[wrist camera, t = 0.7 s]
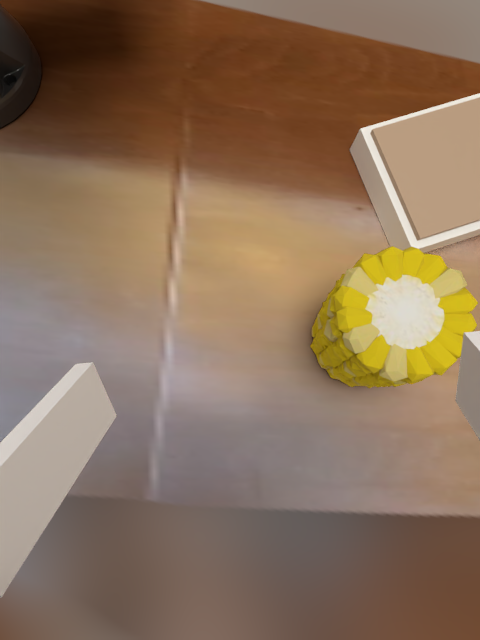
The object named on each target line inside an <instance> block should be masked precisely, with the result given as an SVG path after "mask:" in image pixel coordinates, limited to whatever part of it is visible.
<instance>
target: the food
mask: <svg viewBox="0 0 480 640" xmlns="http://www.w3.org/2000/svg"><path fill="white" fill-rule="evenodd" d="M466 286H467V283H466V281H465V279H464V277H463V275H462V273H461V271H458V270H454V269H450V268H447V266H446V264H445V263H444V261H443V259H442V258H441V256H438V255H431V254H424V253H423V252H422V251H421V250H419V249H418V248H414V247H409V248H407V249H405V250H400V249H398V248H396V247H393V246H391V247H389V248H387V249H385V250H382V251H381V252H379V253H377V254H375V255H371V254H365V253H364V254H363V256H362V257H361V259H360V260H358V262H357V263H356V264H355V266H354V267H353V268H352V269H348V270H347V271H346V274H342V276H341V278H340V280H337V281H336V285H335V287H334V288H333V290H332V291H331V292H330V293H329V294H328V297H327V299H326V301H325V302H323V306H322V308H321V310H320V311H319V313H318V315H317V318H316V320H315V323H314V325H313V327H312V337H314V339H313V342H312V344H311V346H310V347H311V348H312V350H313V351H314V353H315V354H316V356H317V359H318V360H317V361H318V363H319V365H320V366H321V368H324V369H326V370H327V372H328V374H329V376H330V377H331V378H333V379H338V380H341V382H343V383H345V384H347V385H348V386H351V387H354V386H367V387H368V388H371V387H374V386H376V387H381V386H382V387H386V386H388V387H389V386H391V385H392V386H394V387H396V386H400V385H403V384H406V383H409V384H414V383H416V382H419V381H422V380H423V379H425V378H427V377H429V376H431V375H442V374H443V373H444V372H445V371H446V370H447V369H448V368H449V367H450V366H452V365H453V364H454V363H455V362H456V361H457V358H459V357H461V351H462V343H463V335H464V332H474V330H475V328H476V326H477V324H476V322H475V320H474V318H473V316H472V314H471V313H469V312H471V311H472V310H473V309H474V308H475V306H476V305H477V304H478V302H477V301H476V300H475V298H474V297H473V296H472V295H471V293H470V292H469V291H468V290H467V289H466V288H465V287H466Z"/></svg>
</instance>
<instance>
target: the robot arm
mask: <svg viewBox="0 0 480 640" xmlns="http://www.w3.org/2000/svg"><path fill="white" fill-rule="evenodd" d="M40 81H41V62H40V58H39V55H38V52H37V50H36V48H35V47H34V45H33V43H32V42H31V40H30V38H29V37H28V35H27V33H26V32H25V30H24V29H23V27H22V26H21V25H20V24H19V23H18V21H17V20H16V19H15V18H14V17H13V16H12V15H11V14H10V13H9V12H8V11H6V10H5V9H4V8H3V7H2V6H1V5H0V127H3V126H5V125H6V124H8V123H10V122H12V121H13V120H14V119H16V118H17V117H18V116H20V115H21V114H22V113H23V112H24V111H25V110H26V109H27V107H28V106H29V105H30V104H31V102H32V101H33V99H34V97H35V95H36V93H37V91H38V88H39V85H40ZM456 402H457V404H458V406H459V407H460V409H461V411H462V412H463V414H464V416H465V417H466V419H467V420H468V422H469V424H470V425H471V427H472V429H473V430H474V432H475V434H476V435H477V437H478V439H479V440H480V331H476V332H464V335H463V343H462V351H461V359H460V368H459V376H458V384H457V393H456ZM116 416H117V415H116V413H115V411H114V408H113V406H112V404H111V402H110V399H109V397H108V395H107V393H106V391H105V388H104V386H103V384H102V382H101V379H100V377H99V375H98V373H97V370H96V368H95V366H94V364H93V363H81V364H75V365H74V366H73V367H72V368H71V370H70V371H69V372H68V373H67V374H66V375H65V376H64V377H63V378H62V379H61V380H60V381H59V382H58V383H57V384H56V385H55V386H54V387H53V388H52V389H51V390H50V391H49V392H48V394H47V395H46V396H45V397H44V398H43V399H42V400H41V401H40V402H39V403H38V404H37V405H36V406H35V407H34V408H33V409H32V410H31V411H30V412H29V413H28V414H27V415H26V416H25V418H24V419H23V420H22V421H21V422H20V423H19V424H18V425H17V426H16V427H15V428H14V429H13V430H12V431H11V432H10V433H9V434H8V435H7V436H6V437H5V438H4V439H3V441H2V442H1V443H0V597H2V596H3V594H4V593H5V591H6V590H7V588H8V586H9V585H10V583H11V581H12V580H13V579H14V577H15V575H16V574H17V572H18V570H19V569H20V567H21V566H22V564H23V563H24V561H25V560H26V558H27V556H28V555H29V553H30V552H31V550H32V549H33V547H34V545H35V544H36V542H37V541H38V539H39V537H40V536H41V534H42V533H43V531H44V530H45V528H46V527H47V525H48V523H49V522H50V520H51V519H52V517H53V515H54V514H55V512H56V511H57V509H58V508H59V506H60V504H61V503H62V501H63V500H64V498H65V497H66V495H67V493H68V492H69V490H70V489H71V487H72V486H73V484H74V482H75V481H76V479H77V478H78V476H79V475H80V473H81V471H82V470H83V468H84V467H85V465H86V464H87V462H88V460H89V459H90V457H91V456H92V454H93V452H94V451H95V449H96V448H97V446H98V445H99V443H100V441H101V440H102V438H103V437H104V435H105V434H106V432H107V430H108V429H109V427H110V426H111V424H112V423H113V421H114V419H115V418H116Z"/></svg>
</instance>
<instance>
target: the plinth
mask: <svg viewBox="0 0 480 640" xmlns="http://www.w3.org/2000/svg"><path fill="white" fill-rule="evenodd" d="M350 152H351V155H352V157H353V159H354V162H355V164H356V166H357V169H358V171H359V174H360V176H361V178H362V181H363V183H364V185H365V188H366V190H367V192H368V195H369V197H370V200H371V202H372V204H373V207H374V209H375V211H376V214H377V216H378V219H379V221H380V223H381V226H382V228H383V230H384V233H385V235H386V238H387V240H388V242H389V245H390V247H391V246H393V247H396V248H398V249H400V250H405V249H407V248H409V247H414V248H418V249H419V250H421V251H422V252H423V253H426V252H429V251H432V250H435V249H438V248H441V247H444V246H447V245H450V244H453V243H456V242H459V241H462V240H466V239H469V238H472V237H475V236H478V235H480V93H479V94H476V95H473V96H469V97H466V98H462V99H459V100H456V101H452V102H449V103H446V104H442V105H439V106H435V107H432V108H429V109H425V110H422V111H419V112H415V113H412V114H408V115H405V116H402V117H398V118H395V119H392V120H388V121H385V122H381V123H378V124H375V125H371V126H368V127H365V128H361V129H360V130H359V132H358V134H357V136H356V138H355V140H354V142H353V144H352V146H351V148H350Z"/></svg>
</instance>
